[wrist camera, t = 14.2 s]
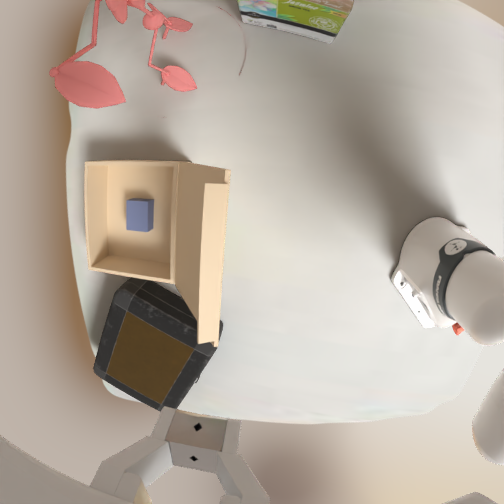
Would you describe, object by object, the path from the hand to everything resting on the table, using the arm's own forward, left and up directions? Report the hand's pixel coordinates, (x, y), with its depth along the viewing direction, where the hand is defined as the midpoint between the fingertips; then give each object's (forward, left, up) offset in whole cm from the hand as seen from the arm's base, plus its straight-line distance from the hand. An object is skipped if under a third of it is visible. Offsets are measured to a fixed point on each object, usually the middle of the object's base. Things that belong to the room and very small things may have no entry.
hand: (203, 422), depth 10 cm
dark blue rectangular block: (+11, +16, -38) cm, 43 cm away
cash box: (-11, +31, -40) cm, 51 cm away
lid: (+4, +7, -24) cm, 26 cm away
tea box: (+27, -24, -39) cm, 53 cm away
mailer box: (+11, +16, -39) cm, 44 cm away
